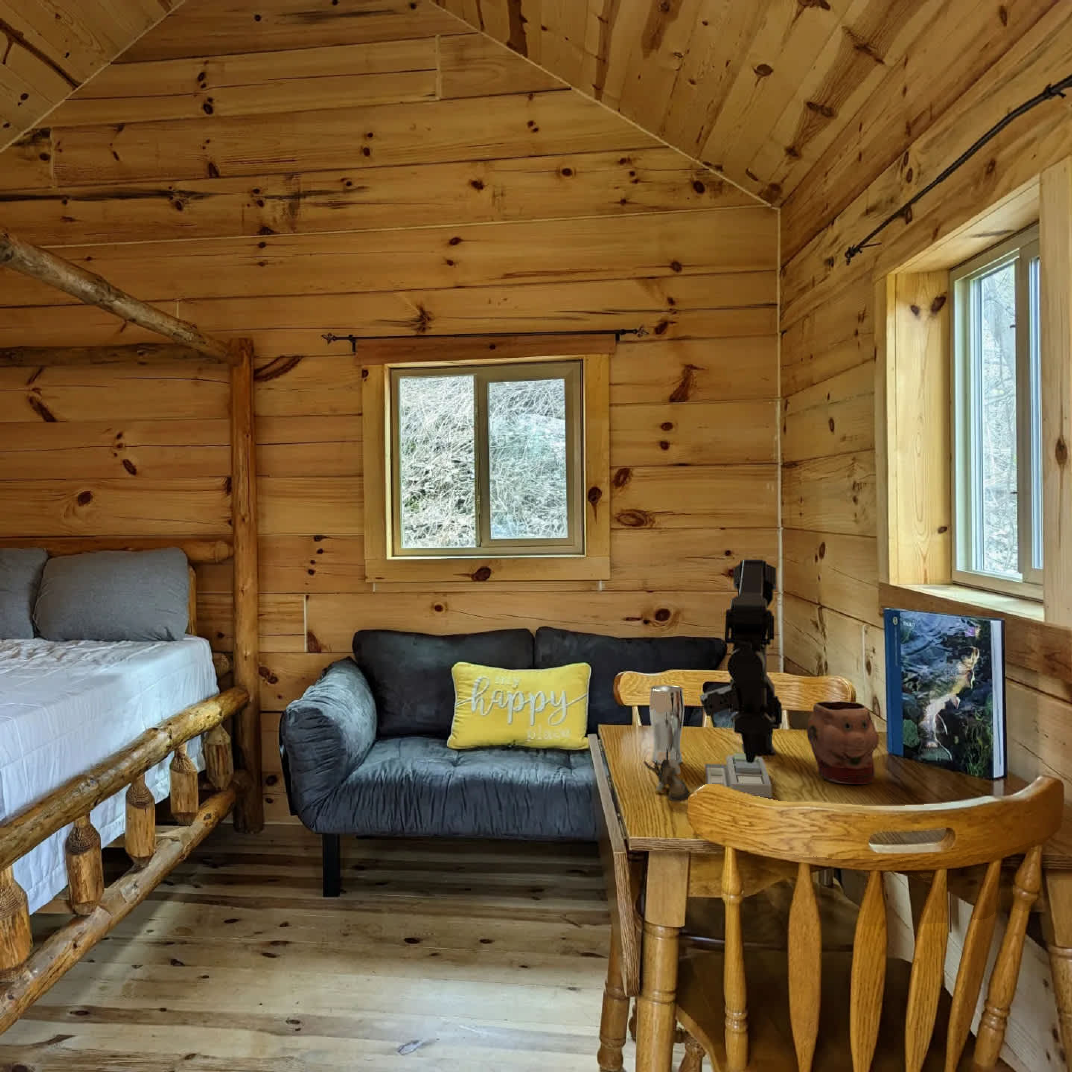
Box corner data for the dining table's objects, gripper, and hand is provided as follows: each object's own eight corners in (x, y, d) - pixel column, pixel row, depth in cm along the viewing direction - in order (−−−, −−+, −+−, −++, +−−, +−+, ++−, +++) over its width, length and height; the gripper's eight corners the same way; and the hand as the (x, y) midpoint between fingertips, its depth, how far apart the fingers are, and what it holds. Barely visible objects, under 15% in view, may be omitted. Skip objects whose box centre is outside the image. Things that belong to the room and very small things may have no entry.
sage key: (734, 761, 150) (734, 753, 150) (755, 762, 149) (755, 754, 149) (735, 767, 146) (735, 758, 146) (757, 768, 145) (757, 759, 145)
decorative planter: (789, 761, 157) (789, 693, 157) (848, 759, 158) (847, 692, 158) (833, 793, 137) (832, 715, 137) (899, 791, 138) (898, 714, 138)
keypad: (705, 768, 153) (704, 753, 153) (762, 771, 150) (762, 756, 150) (707, 801, 134) (707, 783, 134) (773, 804, 132) (772, 787, 132)
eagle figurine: (633, 781, 142) (650, 787, 133) (651, 746, 144) (668, 749, 135) (667, 802, 142) (686, 809, 134) (685, 767, 144) (704, 772, 136)
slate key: (735, 769, 144) (735, 761, 144) (757, 770, 143) (757, 762, 143) (737, 776, 140) (737, 767, 140) (760, 777, 139) (759, 768, 139)
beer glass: (668, 768, 153) (668, 692, 153) (642, 760, 158) (642, 687, 158) (691, 761, 157) (690, 688, 157) (665, 754, 163) (664, 683, 163)
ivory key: (737, 785, 139) (737, 776, 139) (760, 786, 138) (760, 777, 138) (739, 792, 135) (739, 783, 135) (762, 793, 134) (762, 784, 134)
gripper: (701, 664, 147) (702, 746, 147) (703, 682, 129) (704, 776, 129) (762, 665, 145) (762, 749, 145) (772, 684, 127) (773, 779, 126)
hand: (749, 762), depth 136 cm, fingers closed
